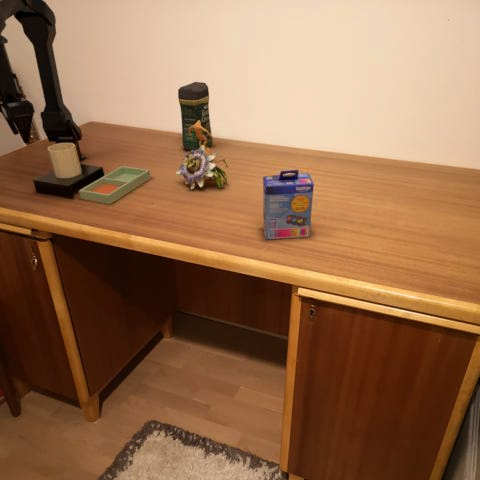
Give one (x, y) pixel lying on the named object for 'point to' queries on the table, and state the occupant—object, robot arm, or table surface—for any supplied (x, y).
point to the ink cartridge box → (287, 205)
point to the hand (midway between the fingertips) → (21, 138)
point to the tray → (115, 184)
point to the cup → (64, 160)
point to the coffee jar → (194, 113)
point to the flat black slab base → (65, 181)
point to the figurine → (201, 135)
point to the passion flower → (201, 168)
